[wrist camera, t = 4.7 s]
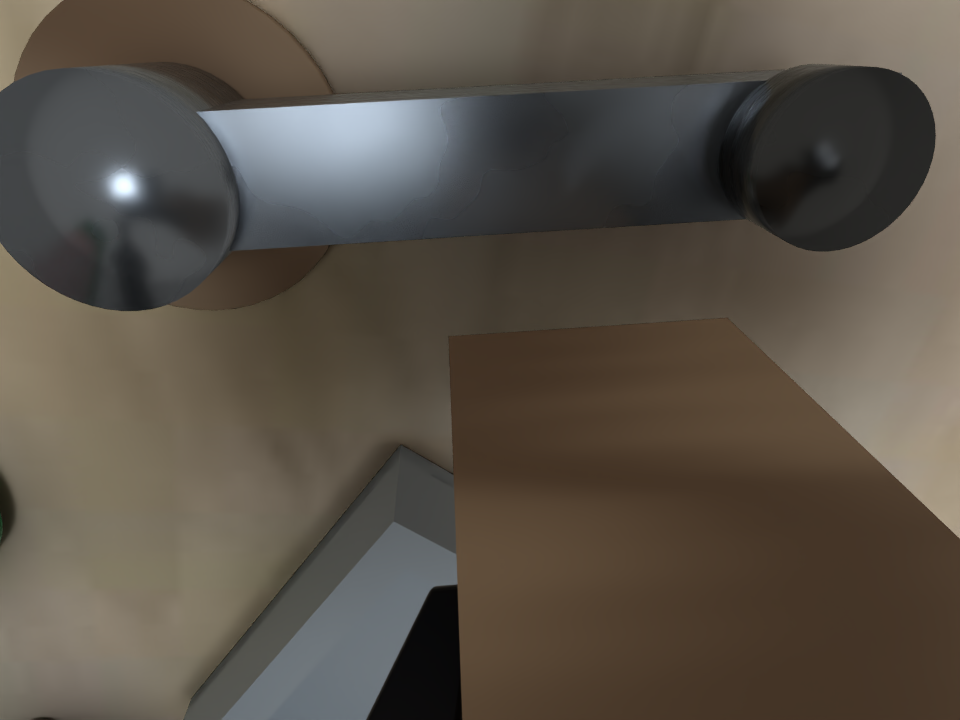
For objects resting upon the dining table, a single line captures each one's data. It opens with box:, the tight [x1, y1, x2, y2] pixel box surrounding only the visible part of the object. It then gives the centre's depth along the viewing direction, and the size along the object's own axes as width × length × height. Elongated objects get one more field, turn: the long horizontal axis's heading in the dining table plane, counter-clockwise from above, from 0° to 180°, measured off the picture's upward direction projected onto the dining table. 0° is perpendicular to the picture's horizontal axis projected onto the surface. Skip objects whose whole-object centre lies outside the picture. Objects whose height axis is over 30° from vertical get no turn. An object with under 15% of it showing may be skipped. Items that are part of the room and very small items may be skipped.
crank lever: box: [0, 62, 936, 311], centre depth 11 cm, size 14×4×4 cm, turn 93°
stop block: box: [449, 318, 960, 720], centre depth 7 cm, size 4×5×8 cm
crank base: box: [14, 0, 334, 310], centre depth 15 cm, size 6×20×1 cm, turn 53°
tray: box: [184, 445, 457, 720], centre depth 19 cm, size 12×12×3 cm
